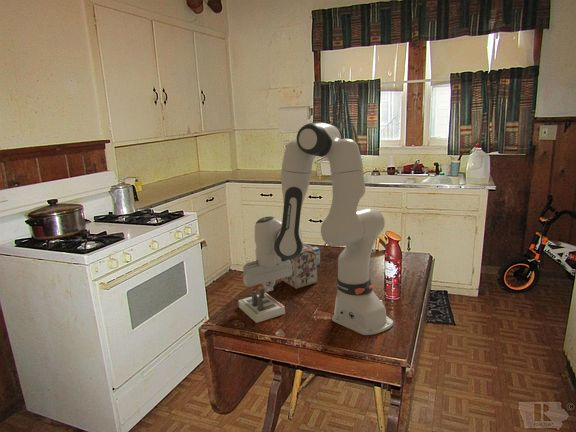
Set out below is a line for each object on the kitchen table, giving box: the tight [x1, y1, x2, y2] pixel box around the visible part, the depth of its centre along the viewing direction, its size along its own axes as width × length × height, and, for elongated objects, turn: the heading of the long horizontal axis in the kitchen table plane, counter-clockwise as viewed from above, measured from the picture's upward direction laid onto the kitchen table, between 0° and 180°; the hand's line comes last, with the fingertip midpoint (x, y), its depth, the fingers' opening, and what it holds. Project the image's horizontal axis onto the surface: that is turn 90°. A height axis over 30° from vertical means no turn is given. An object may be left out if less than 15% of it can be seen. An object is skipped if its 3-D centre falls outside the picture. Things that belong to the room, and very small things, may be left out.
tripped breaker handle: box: [257, 285, 265, 298], centre depth 164 cm, size 2×2×4 cm
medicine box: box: [311, 246, 321, 267], centre depth 203 cm, size 8×4×9 cm, turn 118°
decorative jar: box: [281, 241, 318, 289], centre depth 183 cm, size 12×12×18 cm
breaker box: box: [238, 292, 286, 324], centre depth 160 cm, size 15×12×7 cm
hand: (269, 291), depth 166 cm, fingers closed
